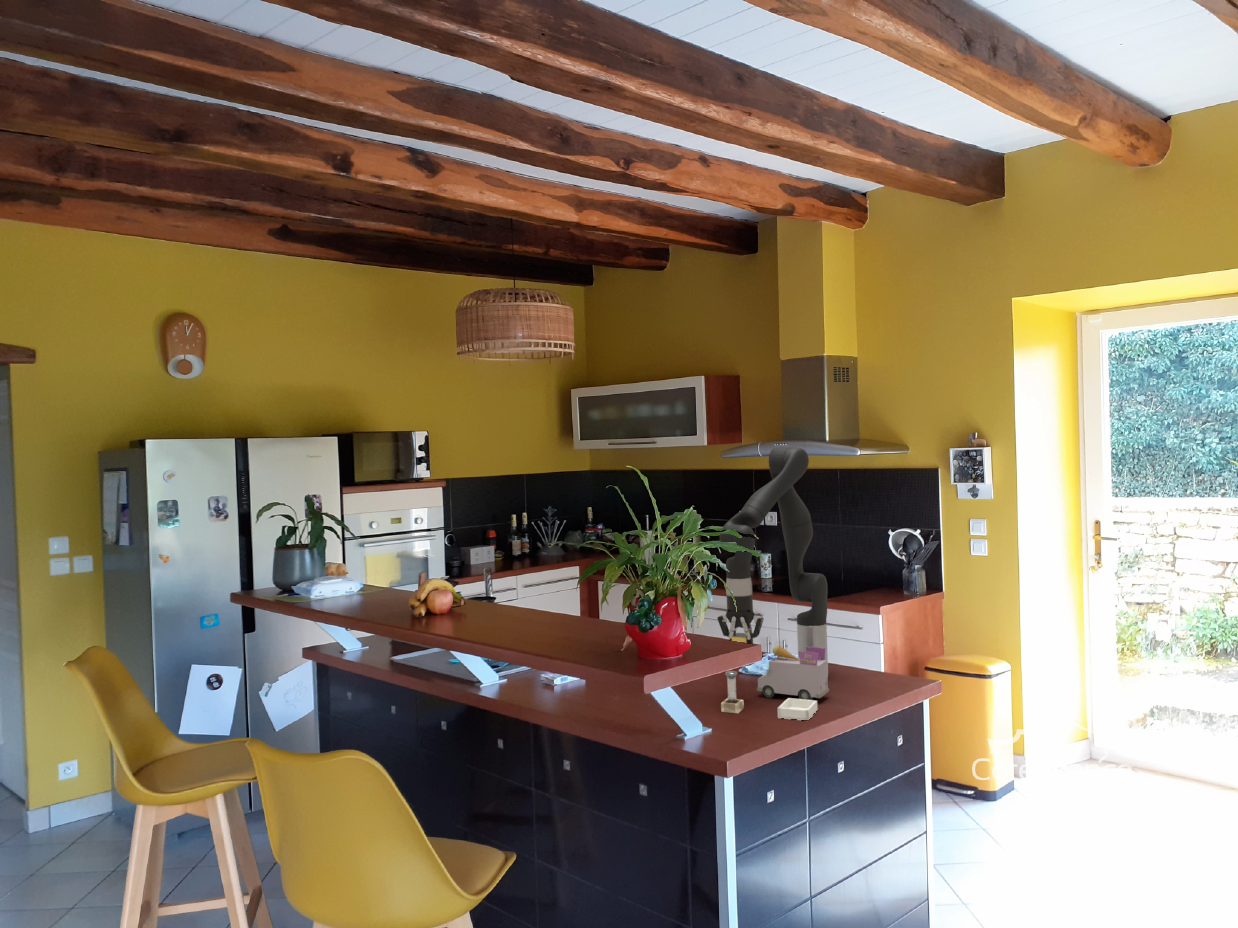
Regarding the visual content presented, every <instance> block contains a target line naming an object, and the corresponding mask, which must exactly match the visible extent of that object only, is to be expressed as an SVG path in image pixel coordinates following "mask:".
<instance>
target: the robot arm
mask: <svg viewBox="0 0 1238 928" xmlns="http://www.w3.org/2000/svg"><path fill="white" fill-rule="evenodd" d="M768 455H769V456H768V468H769V472H770V476H771V480H770V481H769V482H768V483H766V484H765V485H764V486H762V487H760V488H759V489H757V490H756V491H755V492H754V493H753V494H752V495H751V496H750V497H749V499H748V500H747V501H746V503H745V504H744V505H743V507H742V508H741V510H740V511H739V512H738V513H736V514H734V516H733V517H731V518H730V519H729V520H728V521H727V522H726V523H725V524H724V525H723V526H722V527H721V530H722V529H735V530H736V531H738V532H740V533H743V534H751V535H754V537H755V536H756V535H755V533H754V531H753V529H754V528H757V527H759V526H760V525H761V524H762V523H763V521H764V520H765V518H766V517H767V516H768V514H769V512H770V511H771V510H772V509H773V507H774V506H775V504H778V508H779V515H780V523H781V524H780V525H781V528H782V530H781V531H782V534H783V539H784V544H785V550H786V557H787V567H788V578H789V579H788V580H789V581H788V582H789V589H790V593H791V597H792V599H794V600H795V601H798V602H801V603H802V602H804V603H811V608H810V609H808V610H806V611H803V612H800V613H798V614H797V616H796V632H797V633H796V634H797V635H796V636H797V658H799V652H798V651H801V652H805V651H806V646H807V647H819V648H826V649H825V660H827V679H828V678H829V661H828V660H829V659H828V632H827V629H828V627H827V617H828V593H829V592H828V590H829V589H828V588H829V587H828V581H827V578H826V576H825V575H824V574H823V573H815V572H814V573H813V572H804V566H803V563H804V562H803V560H804V556H805V554H806V552H807V549H808V548H809V546H810V543H811V542H812V539H813V536H814V529H813V524H812V518H811V517H812V516H811V514H810V511H809V509H808V508H807V506H806V504H805V503H804V501H803V500H802V499H801V497H800V496H799V494H798V492H797V491H796V490H795V488H794V485H795V483H797V482H798V481H799V480H800V479H801V478H802V477H803V475H804V474H805V473H806V471H807V469H808V468H809V463H810V458H809V455H808V453H807V451H806V450H805V449H803V448H801V447H796V446H795V447H794V446H775V447H773V448H772V449H771V450H770V452H769V454H768ZM719 541H720V543H721V542H736V543H737V545H739V546H743V547H745V548H748V549H750V550H753V551H754V548H755V543H756V537H755V539H754V538H751V537H742V538H738V537H736V536H734V535H731V534H720V533H719ZM752 558H753V553H750V552H742V551H736V550H735V554H734V556H730V557H729V558H727V559H726V561H725V566H726V568H727V569H728V570H729V571H730V572H728V571H726V582H725V583H726V585H725V587H728V589H730V590H731V591H732V592H733V595H734V598H735V600H736V606H737V612H736V607H735V605H734V601H733V598H732V597H731V594H730V591H729V590H728V589H725V593H726V612H725V614H721V615H719V616H718V617H717V622H718V624H719V627H720V629H721V632H722V636H723V637H728V638H729V642H730V641H732V636H733V635H735V634H736V633H737V630H738V628H740V629H743V633H746V637H747V644H752V645H753V646H754V639H756V638H757V637H758V636H759V635H760V633H761V629H762V625H763V622H764V617H763V616H760V617H759V616H758V615H755V612H754V603H753V602H754V601H753V598H754V597H753V582H752V577H751V575H752V574H751V571H752V570H751V561H752ZM727 620H728V621H729V623H730V627H728V624H727ZM753 621H754V622H753ZM752 622H753V623H754V624H755V626H754V630H753V629H752V625H751V623H752ZM806 652H807V651H806Z"/></svg>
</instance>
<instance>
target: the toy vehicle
mask: <svg viewBox="0 0 1238 928" xmlns="http://www.w3.org/2000/svg"><path fill="white" fill-rule="evenodd" d="M825 649H826V648H819V647H807V646H806V651H807V652H806V651H805V652H801V651H798V650H797V653H798V652H799V658H798V657H797V656H795V655H794V654H792V653H791V652H789V651H788V650H787V649H785V648H784V647H782V646H781V645H774V647H773V648H772V653H773V656H774V657H772V656H770V655H768V656H767V661H768V669H767V670H766V673H764V674H763V675H761V676H759V677H758V678H757V687H756V691H757V692H762V694H763V696H764V697H766V698H767V699H771V698H773V697H774V696H775V694H780V695H789V696H798V699H805V700H814V698H816V699H821V698H823V696H825V695H826V694H827V693H829V692H830V688H829V685H828V684H829V683H828V678H827V660H825Z"/></svg>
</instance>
